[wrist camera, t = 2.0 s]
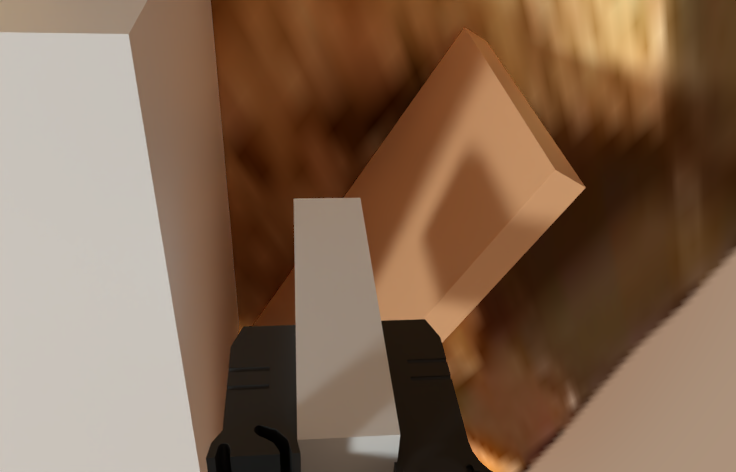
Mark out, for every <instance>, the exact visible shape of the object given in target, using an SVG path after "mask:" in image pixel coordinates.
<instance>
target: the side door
mask: <svg viewBox="0 0 736 472" xmlns="http://www.w3.org/2000/svg"><path fill="white" fill-rule="evenodd" d="M585 188H586V187H585V186H584V184H583V183H582V181H581V180H580V178H579V177H578V176H577V174H576V173H575V171H574V170H573V168H572V167H571V165H570V164H569V162H568V161H567V159H566V158H565V156H564V155H563V153H562V152H561V150H560V149H559V148H558V146H557V145H556V143H555V142H554V140H553V139H552V137H551V136H550V134H549V133H548V131H547V130H546V128H545V127H544V125H543V124H542V122H541V121H540V120H539V118H538V117H537V115H536V114H535V112H534V111H533V109H532V108H531V106H530V105H529V103H528V102H527V100H526V99H525V97H524V96H523V94H522V93H521V92H520V90H519V89H518V87H517V86H516V84H515V83H514V81H513V80H512V78H511V77H510V75H509V74H508V72H507V71H506V69H505V68H504V66H503V65H502V64H501V62H500V61H499V59H498V58H497V56H496V55H495V53H494V52H493V50H492V49H491V47H490V46H489V44H488V43H487V41H485V40H484V39H482V38H481V37H479V36H478V35H476V34H475V33H473V32H472V31H470V30H469V29H467V28H465V27H464V29H463V30H462V31H461V33H460V34H459V36H458V37H457V38H456V40H455V41H454V43H453V44H452V45H451V47H450V48H449V50H448V51H447V52H446V54H445V55H444V57H443V58H442V60H441V61H440V62H439V64H438V65H437V67H436V68H435V69H434V71H433V72H432V74H431V75H430V76H429V78H428V79H427V81H426V82H425V83H424V85H423V86H422V88H421V89H420V91H419V92H418V93H417V95H416V96H415V98H414V99H413V100H412V102H411V103H410V105H409V106H408V107H407V109H406V110H405V112H404V113H403V114H402V116H401V117H400V119H399V120H398V122H397V123H396V124H395V126H394V127H393V129H392V130H391V131H390V133H389V134H388V136H387V137H386V138H385V140H384V141H383V143H382V144H381V145H380V147H379V148H378V150H377V151H376V153H375V154H374V155H373V157H372V158H371V160H370V161H369V162H368V164H367V165H366V167H365V168H364V169H363V171H362V172H361V174H360V175H359V176H358V178H357V179H356V181H355V182H354V184H353V185H352V186H351V188H350V189H349V191H348V192H347V193H346V195H345V196H344V198H360V199H361V205H362V211H363V217H364V223H365V228H366V234H367V240H368V246H369V252H370V258H371V264H372V270H373V276H374V282H375V288H376V294H377V299H378V305H379V311H380V317H381V321H385V320H416V319H425V320H426V321H427V322H428V323H429V324H430V326H431V327H432V328H433V329H434V330H435V332H436V333H437V334H438V335H439V336H440V338H441V342H442V343H443V341H444V340H445V339H446V338H447V337H448V336H449V335H450V334H451V333H452V332H453V331H454V330H455V328H456V327H457V326H458V325H459V324H460V323H461V322H462V321H463V320H464V319H465V318H466V317H467V315H468V314H469V313H470V312H471V311H472V310H473V309H474V308H475V307H476V306H477V305H478V304H479V303H480V301H481V300H482V299H483V298H484V297H485V296H486V295H487V294H488V293H489V292H490V291H491V290H492V288H493V287H494V286H495V285H496V284H497V283H498V282H499V281H500V280H501V279H502V278H503V277H504V275H505V274H506V273H507V272H508V271H509V270H510V269H511V268H512V267H513V266H514V265H515V264H516V262H517V261H518V260H519V259H520V258H521V257H522V256H523V255H524V254H525V253H526V252H527V251H528V250H529V248H530V247H531V246H532V245H533V244H534V243H535V242H536V241H537V240H538V239H539V238H540V237H541V235H542V234H543V233H544V232H545V231H546V230H547V229H548V228H549V227H550V226H551V225H552V224H553V222H554V221H555V220H556V219H557V218H558V217H559V216H560V215H561V214H562V213H563V212H564V211H565V209H566V208H567V207H568V206H569V205H570V204H571V203H572V202H573V201H574V200H575V199H576V198H577V197H578V195H579V194H580V193H581V192H582V191H583V190H584V189H585ZM279 325H296V320H295V267H294V268H293V269H292V271H291V272H290V274H289V275H288V277H287V278H286V279H285V281H284V282H283V284H282V285H281V286H280V288H279V289H278V291H277V292H276V293H275V295H274V296H273V298H272V299H271V300H270V302H269V303H268V305H267V306H266V308H265V309H264V310H263V312H262V313H261V315H260V316H259V317H258V319H257V320H256V322H255V323H254V324H253V326H279Z"/></svg>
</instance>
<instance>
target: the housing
mask: <svg viewBox="0 0 736 472" xmlns="http://www.w3.org/2000/svg"><path fill="white" fill-rule="evenodd" d="M238 332H239V316H238V304H237V293H236V281H235V270H234V259H233V247H232V236H231V224H230V213H229V202H228V190H227V179H226V168H225V156H224V145H223V133H222V122H221V111H220V99H219V88H218V76H217V65H216V54H215V42H214V31H213V19H212V8H211V0H0V472H208V470H207V463H206V456H207V453H208V450H209V448H210V445H211V443H212V441H213V440H214V439H215V438H216V437H217V436H218V435H219V434H220V433H221V431H222V430H223V420H224V410H225V400H226V391H227V379H228V372H229V359H230V348H231V345H232V343H233V342H234V340H235V339H236V337H237V336H238Z"/></svg>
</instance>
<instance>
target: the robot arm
mask: <svg viewBox="0 0 736 472" xmlns="http://www.w3.org/2000/svg"><path fill="white" fill-rule="evenodd" d="M294 254H295V320H296V325H279V326H249V327H243V328H242V330H241V331H240V333H239V334H238V336H237V337H236V339H235V340H234V342H233V343H232V345H231V348H230V359H229V372H228V379H227V391H226V400H225V410H224V420H223V430H222V431H221V433H220V434H219V435H218V436H217V437H216V438H215V439H214V440H213V441H212V443H211V445H210V448H209V450H208V453H207V456H206V463H207V470H208V472H492V471H490V470H489V469H488V468H487V467H486V466H484V465H483V464H482V463H481V462H480V461H479V460H478V458H477V457H476V456H475V454H474V453H473V452H472V449H471V447H470V445H469V442H468V439H467V435H466V431H465V428H464V424H463V420H462V416H461V413H460V409H459V405H458V402H457V398H456V394H455V390H454V387H453V383H452V380H451V378H450V372H449V368H448V364H447V362H446V357H445V353H444V349H443V345H442V342H441V338H440V336H439V335H438V334H437V333H436V332H435V330H434V329H433V328H432V327H431V326H430V324H429V323H428V322H427V321H426V320H425V319H416V320H385V321H381V317H380V311H379V305H378V299H377V294H376V288H375V282H374V276H373V270H372V264H371V258H370V252H369V246H368V240H367V234H366V228H365V223H364V217H363V211H362V205H361V199H360V198H296V199H294Z"/></svg>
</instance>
